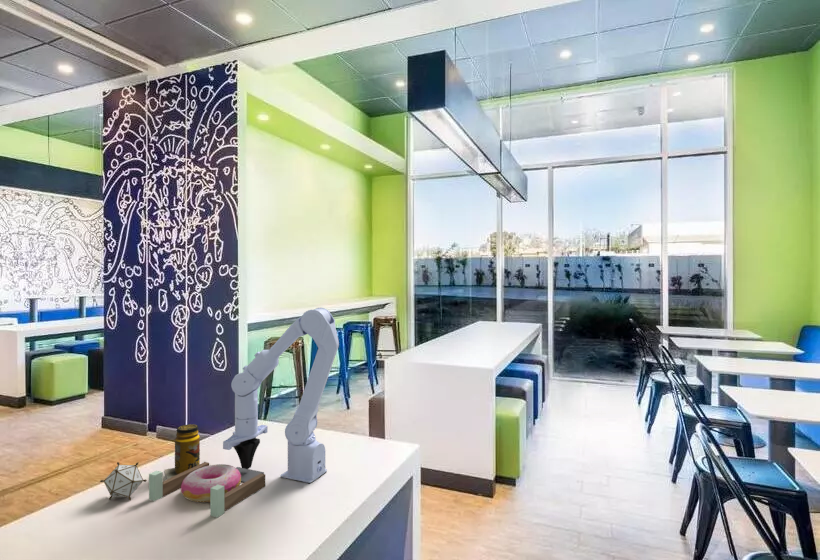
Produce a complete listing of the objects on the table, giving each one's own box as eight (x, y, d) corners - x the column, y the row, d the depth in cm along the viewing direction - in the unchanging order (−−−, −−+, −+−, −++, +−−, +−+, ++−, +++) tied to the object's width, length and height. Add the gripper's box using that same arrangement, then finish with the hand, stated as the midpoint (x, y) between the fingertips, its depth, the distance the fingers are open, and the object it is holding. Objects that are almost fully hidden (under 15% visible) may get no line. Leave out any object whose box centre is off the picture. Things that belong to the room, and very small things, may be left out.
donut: (198, 480, 118) (198, 460, 118) (249, 480, 118) (249, 461, 118) (169, 505, 105) (169, 484, 105) (227, 506, 105) (227, 484, 105)
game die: (122, 516, 107) (104, 495, 101) (105, 495, 111) (87, 473, 105) (158, 487, 112) (143, 465, 106) (140, 468, 116) (125, 445, 110)
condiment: (203, 473, 122) (203, 428, 122) (167, 480, 118) (167, 433, 118) (198, 463, 128) (198, 421, 128) (164, 470, 124) (164, 426, 124)
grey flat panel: (263, 473, 122) (263, 472, 122) (246, 483, 116) (246, 482, 116) (237, 467, 126) (237, 466, 126) (219, 477, 120) (219, 476, 120)
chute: (266, 486, 114) (267, 462, 114) (217, 517, 100) (217, 489, 99) (203, 472, 122) (203, 450, 122) (149, 499, 108) (148, 473, 108)
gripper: (253, 407, 131) (253, 455, 131) (213, 422, 117) (213, 475, 117) (273, 410, 128) (273, 459, 128) (235, 426, 114) (235, 480, 115)
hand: (246, 467), depth 122 cm, fingers closed
